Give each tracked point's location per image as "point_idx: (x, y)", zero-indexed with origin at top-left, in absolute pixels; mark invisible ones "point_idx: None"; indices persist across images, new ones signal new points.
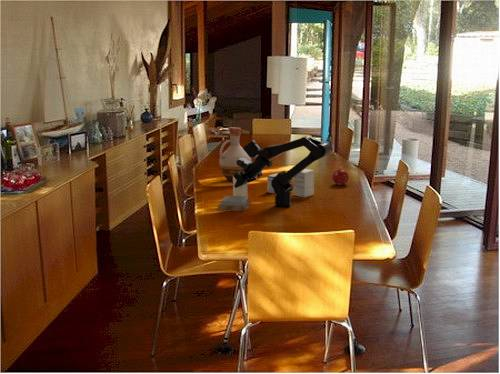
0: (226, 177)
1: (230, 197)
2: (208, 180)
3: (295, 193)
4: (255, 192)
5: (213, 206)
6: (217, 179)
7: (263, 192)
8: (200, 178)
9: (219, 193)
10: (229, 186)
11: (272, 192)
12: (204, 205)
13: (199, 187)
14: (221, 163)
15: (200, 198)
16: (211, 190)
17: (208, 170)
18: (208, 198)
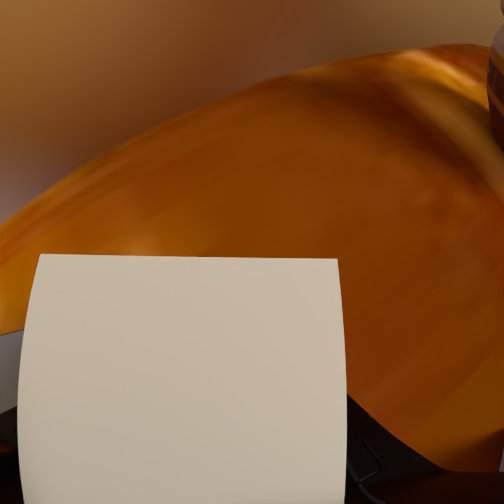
0: (489, 106)
1: (5, 389)
2: (441, 69)
3: None
4: (476, 364)
5: (5, 293)
6: (472, 89)
7: (496, 409)
8: (433, 51)
9: (313, 161)
10: (459, 151)
11: (501, 470)
12: (17, 235)
13: (345, 62)
14: (496, 39)
15: (149, 135)
16: (340, 106)
17: None
18: (162, 166)
